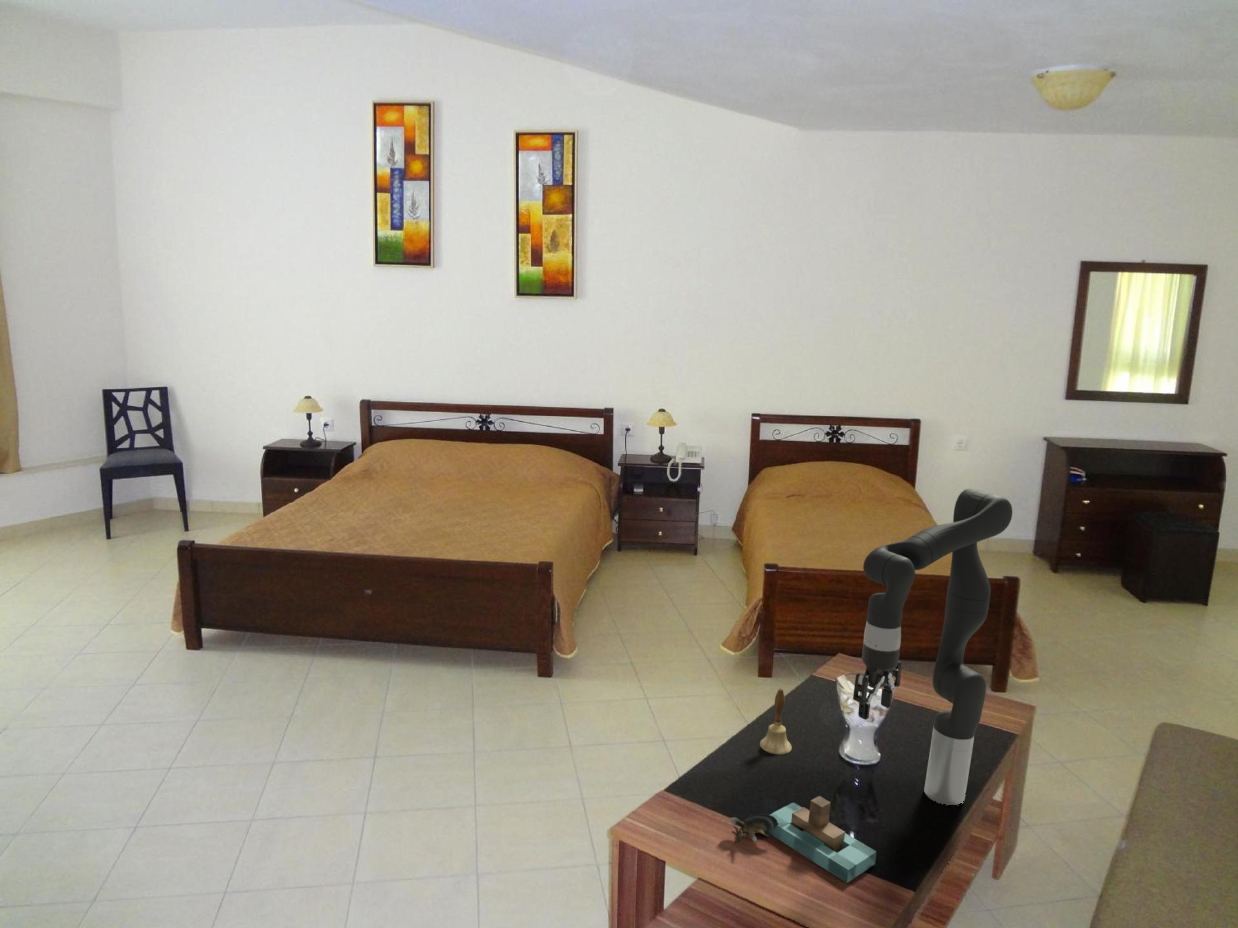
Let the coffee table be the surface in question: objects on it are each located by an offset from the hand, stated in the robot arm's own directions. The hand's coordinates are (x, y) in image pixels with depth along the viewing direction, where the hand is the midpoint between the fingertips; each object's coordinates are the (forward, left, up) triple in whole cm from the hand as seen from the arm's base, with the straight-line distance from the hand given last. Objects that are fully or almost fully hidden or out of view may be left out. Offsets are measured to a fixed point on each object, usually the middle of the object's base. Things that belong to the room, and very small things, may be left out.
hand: (874, 711), depth 192 cm
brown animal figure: (+23, -12, -29) cm, 39 cm away
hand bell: (-13, -35, -29) cm, 47 cm away
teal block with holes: (+13, -2, -29) cm, 31 cm away
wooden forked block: (+13, -3, -29) cm, 31 cm away
